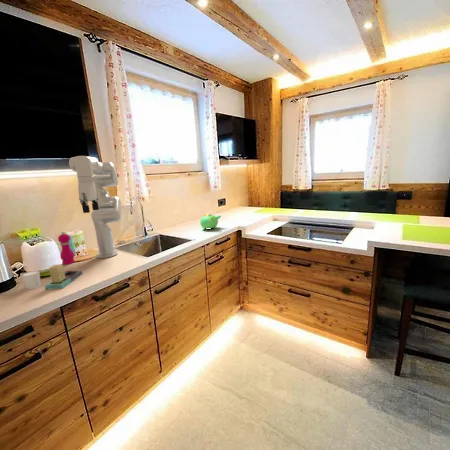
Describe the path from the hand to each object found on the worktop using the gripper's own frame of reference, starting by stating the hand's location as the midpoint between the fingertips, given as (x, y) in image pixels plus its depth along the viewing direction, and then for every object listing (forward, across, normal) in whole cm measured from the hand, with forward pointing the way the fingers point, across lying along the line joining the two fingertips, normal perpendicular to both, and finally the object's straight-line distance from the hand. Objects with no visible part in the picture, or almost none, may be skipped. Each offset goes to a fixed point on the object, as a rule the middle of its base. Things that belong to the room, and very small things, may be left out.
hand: (91, 211), depth 129 cm
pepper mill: (+34, -11, -25) cm, 43 cm away
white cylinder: (+34, +21, -23) cm, 46 cm away
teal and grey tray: (+33, +16, -10) cm, 38 cm away
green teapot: (+34, -85, +62) cm, 110 cm away
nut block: (+33, +21, -10) cm, 41 cm away
